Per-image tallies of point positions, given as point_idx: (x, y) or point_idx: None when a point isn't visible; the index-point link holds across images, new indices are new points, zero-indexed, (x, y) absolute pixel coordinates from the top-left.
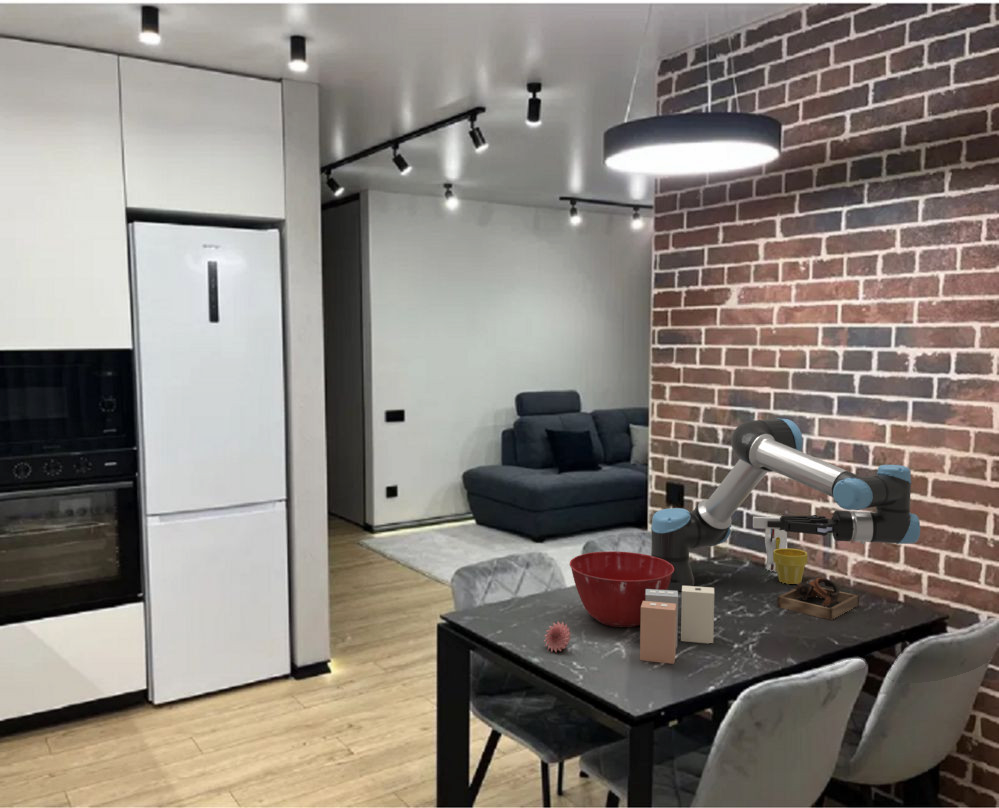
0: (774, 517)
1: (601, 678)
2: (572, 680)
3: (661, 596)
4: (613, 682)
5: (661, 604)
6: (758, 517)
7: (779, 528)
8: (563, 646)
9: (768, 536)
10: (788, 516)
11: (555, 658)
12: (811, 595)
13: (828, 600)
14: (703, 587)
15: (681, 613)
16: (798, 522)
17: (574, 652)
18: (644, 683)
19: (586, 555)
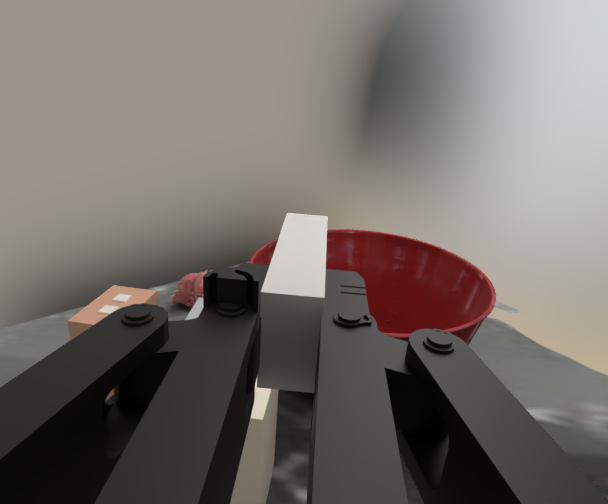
0: (320, 275)
1: (60, 335)
2: (69, 311)
3: (188, 316)
4: (36, 345)
5: (114, 306)
6: (297, 223)
7: (259, 378)
8: (174, 298)
9: None
10: (459, 383)
11: (158, 302)
12: None
13: None
14: (264, 395)
15: None
16: (41, 399)
17: (178, 317)
18: (8, 377)
19: (427, 247)
